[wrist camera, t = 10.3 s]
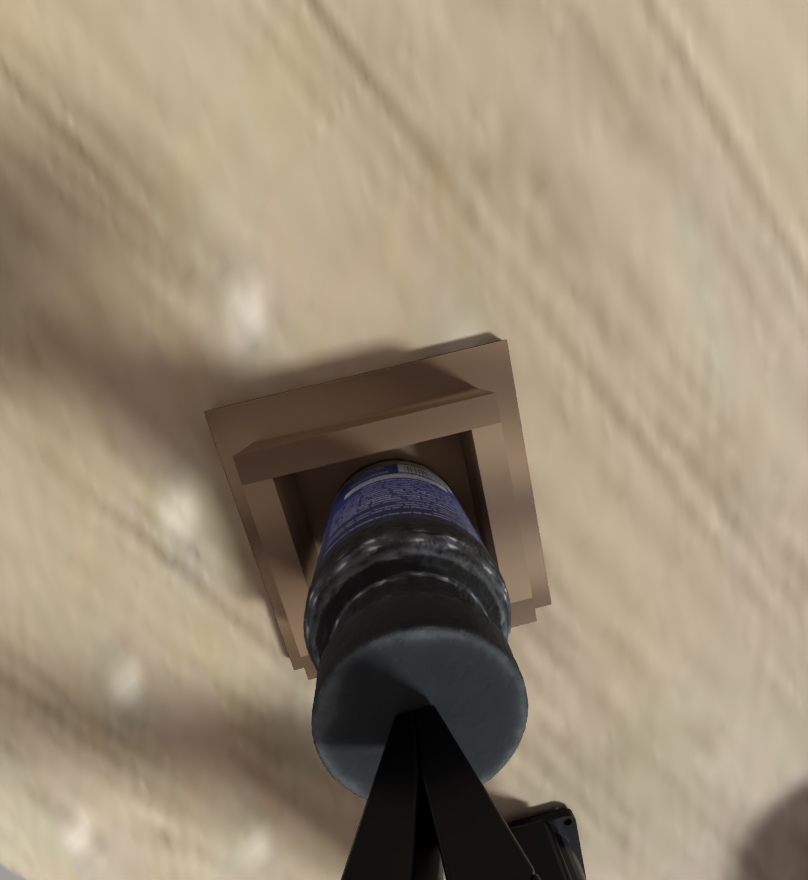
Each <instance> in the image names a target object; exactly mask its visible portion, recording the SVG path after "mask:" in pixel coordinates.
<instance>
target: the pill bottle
mask: <svg viewBox="0 0 808 880" xmlns="http://www.w3.org/2000/svg"><path fill="white" fill-rule="evenodd" d="M303 629H304V639H305V643H306V648H307V650H308V654H309V657H310V659H311V661H312V663H313V665H314V667H315V669H316V671H317V681H316V690H315V697H314V703H313V709H312V735H313V739H314V744H315V746H316V750H317V752H318V754H319V757H320V759H321V760H322V763H323V764H324V766H325V767H326V769H327V770H328V772H329V773H330V774H331V776H332V777H333V778H334V779H336V780H338V781H339V782H340V783H341V784H342V785H343V786H345V787H346V788H347V789H349V790H351V791H352V792H353V793H354V794H357V795H359V796H360V797H363V798H365V799H368V796H369V793H370V790H371V787H372V784H373V781H374V778H375V775H376V772H377V769H378V766H379V763H380V760H381V757H382V754H383V751H384V748H385V745H386V742H387V739H388V736H389V733H390V730H391V727H392V724H393V721H394V718H395V716H396V715H397V714H398V713H401V712H404V711H408V710H414V711H415V712H416V709H417V708H420V707H423V706H427V705H434V706H435V707H436V709H437V710H438V712H439V713H440V715H441V717H442V718H443V720H444V722H445V723H446V725H447V727H448V728H449V730H450V732H451V733H452V735H453V737H454V738H455V740H456V741H457V743H458V745H459V746H460V748H461V750H462V751H463V753H464V755H465V756H466V758H467V760H468V761H469V763H470V764H471V766H472V768H473V769H474V771H475V773H476V774H477V776H478V778H479V779H480V781H481V783H482V784H484V783H485V782H487V781H488V780H490V779H491V778H493V777H494V776H495V775H496V774H497V773H498V772H499V771H500V770H501V769H502V768H503V767H504V766H505V764H506V763H507V762H508V761H509V760H510V758H511V757H512V755H513V754H514V752H515V751H516V749H517V747H518V745H519V743H520V741H521V739H522V736H523V733H524V731H525V727H526V722H527V716H528V699H527V693H526V688H525V684H524V680H523V677H522V675H521V672H520V670H519V667H518V665H517V663H516V660H515V659H514V657H513V654H512V652H511V649H510V647H509V645H508V640H509V635H510V629H511V606H510V598H509V594H508V591H507V588H506V584H505V581H504V579H503V577H502V575H501V573H500V571H499V569H498V567H497V564H496V563H495V561H494V560H493V558H492V557H491V556H490V554H489V553H488V551H487V549H486V547H485V546H484V544H483V542H482V540H481V538H480V537H479V535H478V533H477V531H476V530H475V528H474V527H473V525H472V523H471V521H470V520H469V518H468V517H467V515H466V514H465V512H464V510H463V508H462V506H461V504H460V502H459V501H458V500H457V498H456V497H455V495H454V493H453V492H452V490H451V489H450V487H449V485H448V484H447V483H446V481H445V480H444V479H443V478H442V477H441V476H440V475H438V474H437V473H436V472H435V471H433V470H431V469H430V468H429V467H428V466H426V465H423V464H421V463H418V462H414V461H410V460H406V459H402V458H392V459H386V460H380V461H376V462H373V463H370V464H368V465H366V466H364V467H362V468H360V469H358V470H357V471H356V472H354V473H353V474H352V475H351V476H349V477H348V478H347V480H346V481H345V482H344V483H343V484H342V485H341V487H340V489H339V491H338V493H337V495H336V498H335V500H334V502H333V505H332V508H331V511H330V515H329V519H328V522H327V526H326V530H325V533H324V537H323V541H322V544H321V548H320V551H319V556H318V559H317V563H316V567H315V570H314V574H313V577H312V580H311V585H310V588H309V590H308V595H307V600H306V606H305V612H304V621H303Z"/></svg>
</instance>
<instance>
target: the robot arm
mask: <svg viewBox="0 0 808 880" xmlns="http://www.w3.org/2000/svg"><path fill="white" fill-rule="evenodd" d="M442 864H443V867H442ZM443 868H444V872H445V876H446V880H586V875H585V870H584V864H583V858H582V853H581V847H580V842H579V836H578V830H577V825H576V820H575V817H574V815H573V813H572V811H571V810H570V809H567V808H565V809H561V810H557V811H553V812H550V813H546V814H542V815H538V816H535V817H531V818H527V819H524V820H520V821H516V822H513V823H509V824H506V822H505V820H504V819H503V817H502V815H501V814H500V812H499V811H498V809H497V807H496V806H495V804H494V802H493V801H492V799H491V797H490V796H489V794H488V792H487V791H486V789H485V788H484V786H483V784H482V783H481V781H480V779H479V778H478V776H477V774H476V773H475V771H474V769H473V768H472V766H471V764H470V763H469V761H468V760H467V758H466V756H465V755H464V753H463V751H462V750H461V748H460V746H459V745H458V743H457V741H456V740H455V738H454V737H453V735H452V733H451V732H450V730H449V728H448V727H447V725H446V723H445V722H444V720H443V718H442V717H441V715H440V713H439V712H438V710H437V709H436V707H435V706H434V705H427V706H423V707H420V708H417V709H416V712H415V711H414V710H408V711H404V712H401V713H398V714H397V715H396V716H395V718H394V721H393V724H392V727H391V730H390V733H389V736H388V739H387V742H386V745H385V748H384V751H383V754H382V757H381V760H380V763H379V766H378V769H377V772H376V775H375V778H374V781H373V784H372V787H371V790H370V793H369V796H368V799H367V802H366V805H365V808H364V811H363V814H362V817H361V820H360V823H359V826H358V829H357V832H356V835H355V838H354V841H353V845H352V848H351V851H350V854H349V857H348V860H347V863H346V866H345V869H344V872H343V875H342V878H341V880H443Z"/></svg>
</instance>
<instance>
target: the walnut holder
mask: <svg viewBox="0 0 808 880" xmlns="http://www.w3.org/2000/svg"><path fill="white" fill-rule="evenodd" d="M204 413H205V416H206V419H207V422H208V425H209V427H210V430H211V433H212V436H213V439H214V442H215V445H216V447H217V450H218V453H219V456H220V459H221V462H222V465H223V468H224V470H225V473H226V476H227V479H228V482H229V485H230V488H231V490H232V493H233V496H234V499H235V502H236V505H237V508H238V511H239V513H240V516H241V519H242V522H243V525H244V528H245V531H246V533H247V536H248V539H249V542H250V545H251V548H252V551H253V554H254V556H255V559H256V562H257V565H258V568H259V571H260V574H261V577H262V579H263V582H264V585H265V588H266V591H267V594H268V597H269V599H270V602H271V605H272V608H273V611H274V614H275V617H276V620H277V622H278V625H279V628H280V631H281V634H282V637H283V640H284V642H285V645H286V648H287V651H288V654H289V657H290V660H291V663H292V665H293V668H294V670H297V669H301V668H305V671H306V674H307V677H308V680H309V679H313V678H317V671H316V669H315V667H314V665H313V663H312V661H311V659H310V657H309V654H308V650H307V648H306V643H305V639H304V629H303V621H304V612H305V606H306V600H307V595H308V590H309V588H310V585H311V580H312V577H313V574H314V570H315V567H316V563H317V559H318V556H319V551H320V548H321V544H322V541H323V537H324V533H325V530H326V526H327V522H328V519H329V515H330V511H331V508H332V505H333V502H334V500H335V498H336V495H337V493H338V491H339V489H340V487H341V485H342V484H343V483H344V482H345V481H346V480H347V478H348V477H349V476H351V475H352V474H353V473H354V472H356V471H357V470H358V469H360V468H362V467H364V466H366V465H368V464H370V463H373V462H376V461H380V460H386V459H392V458H402V459H406V460H410V461H414V462H418V463H421V464H423V465H426V466H428V467H429V468H430V469H431V470H433V471H435V472H436V473H437V474H438V475H440V476H441V477H442V478H443V479H444V480H445V481H446V483H447V484H448V485H449V487H450V489H451V490H452V492H453V493H454V495H455V497H456V498H457V500H458V501H459V502H460V504H461V506H462V508H463V510H464V512H465V514H466V515H467V517H468V518H469V520H470V521H471V523H472V525H473V527H474V528H475V530H476V531H477V533H478V535H479V537H480V538H481V540H482V542H483V544H484V546H485V547H486V549H487V551H488V553H489V554H490V556H491V557H492V558H493V560H494V561H495V563H496V564H497V567H498V569H499V571H500V573H501V575H502V577H503V579H504V581H505V584H506V588H507V591H508V594H509V598H510V606H511V627H515V626H519V625H523V624H527V623H531V622H535V621H537V619H536V614H535V608H538V607H542V606H546V605H550V604H551V599H550V593H549V587H548V581H547V575H546V569H545V563H544V557H543V551H542V545H541V539H540V533H539V527H538V521H537V516H536V510H535V504H534V498H533V492H532V486H531V480H530V474H529V468H528V462H527V456H526V450H525V444H524V439H523V433H522V427H521V421H520V415H519V409H518V403H517V397H516V391H515V385H514V379H513V373H512V367H511V362H510V356H509V350H508V344H507V340H501V341H497V342H493V343H489V344H485V345H480V346H476V347H472V348H468V349H464V350H459V351H455V352H451V353H447V354H443V355H438V356H434V357H430V358H426V359H422V360H418V361H413V362H409V363H405V364H401V365H397V366H392V367H388V368H384V369H380V370H376V371H372V372H367V373H363V374H359V375H355V376H351V377H346V378H342V379H338V380H334V381H330V382H325V383H321V384H317V385H313V386H309V387H305V388H300V389H296V390H292V391H288V392H284V393H279V394H275V395H271V396H267V397H263V398H259V399H254V400H250V401H246V402H242V403H238V404H233V405H229V406H225V407H221V408H217V409H213V410H209V411H205V412H204Z"/></svg>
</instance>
